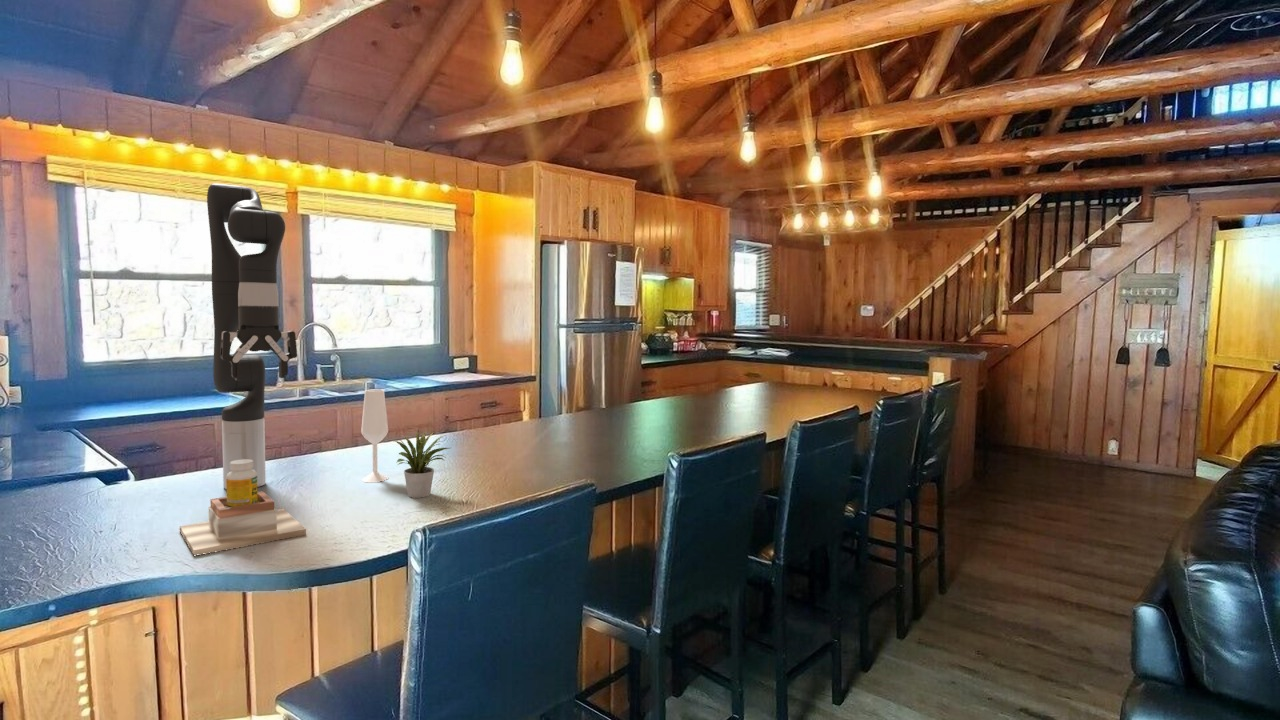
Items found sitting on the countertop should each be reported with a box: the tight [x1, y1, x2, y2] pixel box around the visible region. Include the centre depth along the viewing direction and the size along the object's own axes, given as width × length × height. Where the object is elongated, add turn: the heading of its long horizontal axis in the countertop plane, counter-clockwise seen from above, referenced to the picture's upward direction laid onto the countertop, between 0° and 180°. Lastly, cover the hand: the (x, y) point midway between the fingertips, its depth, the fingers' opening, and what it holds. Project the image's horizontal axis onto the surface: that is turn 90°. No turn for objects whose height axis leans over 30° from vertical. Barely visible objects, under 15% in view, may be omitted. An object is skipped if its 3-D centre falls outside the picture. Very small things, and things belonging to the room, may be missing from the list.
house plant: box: [394, 429, 451, 499], centre depth 161 cm, size 14×14×16 cm
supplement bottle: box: [226, 459, 259, 507], centre depth 133 cm, size 5×5×10 cm
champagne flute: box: [360, 388, 389, 483], centre depth 176 cm, size 7×7×24 cm
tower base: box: [179, 490, 307, 555], centre depth 133 cm, size 17×19×7 cm
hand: (260, 379), depth 143 cm, fingers open, 8 cm apart
